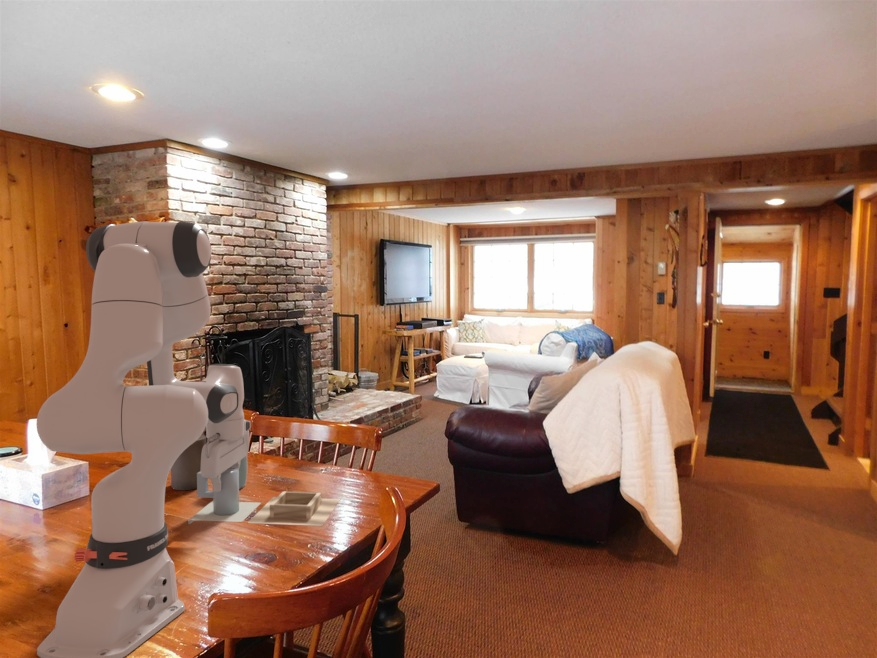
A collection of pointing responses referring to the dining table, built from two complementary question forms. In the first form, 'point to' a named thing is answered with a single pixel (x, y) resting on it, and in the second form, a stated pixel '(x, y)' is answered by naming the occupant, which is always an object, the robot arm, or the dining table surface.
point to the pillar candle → (188, 466)
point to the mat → (208, 515)
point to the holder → (296, 509)
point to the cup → (243, 472)
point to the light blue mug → (222, 492)
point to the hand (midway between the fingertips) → (226, 484)
